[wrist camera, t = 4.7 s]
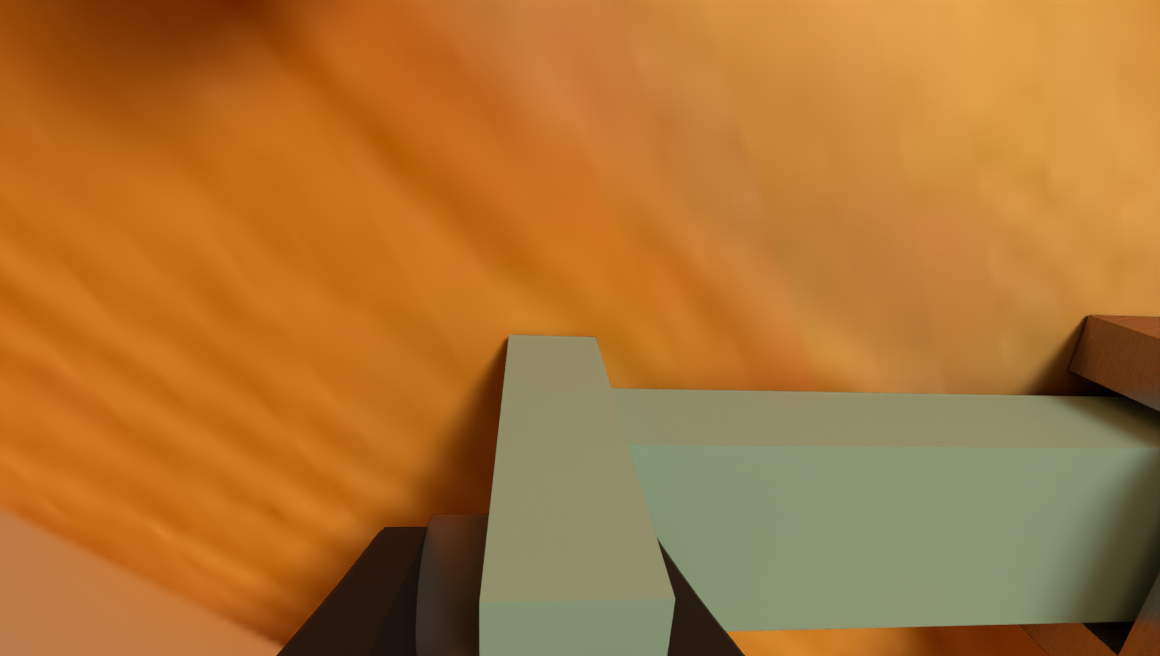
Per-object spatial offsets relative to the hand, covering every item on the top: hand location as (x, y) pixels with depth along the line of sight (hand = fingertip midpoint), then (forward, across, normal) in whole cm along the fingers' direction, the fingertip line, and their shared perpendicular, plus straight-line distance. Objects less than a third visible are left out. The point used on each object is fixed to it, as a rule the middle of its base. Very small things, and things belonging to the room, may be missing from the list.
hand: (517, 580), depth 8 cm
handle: (+3, -5, 0) cm, 6 cm away
